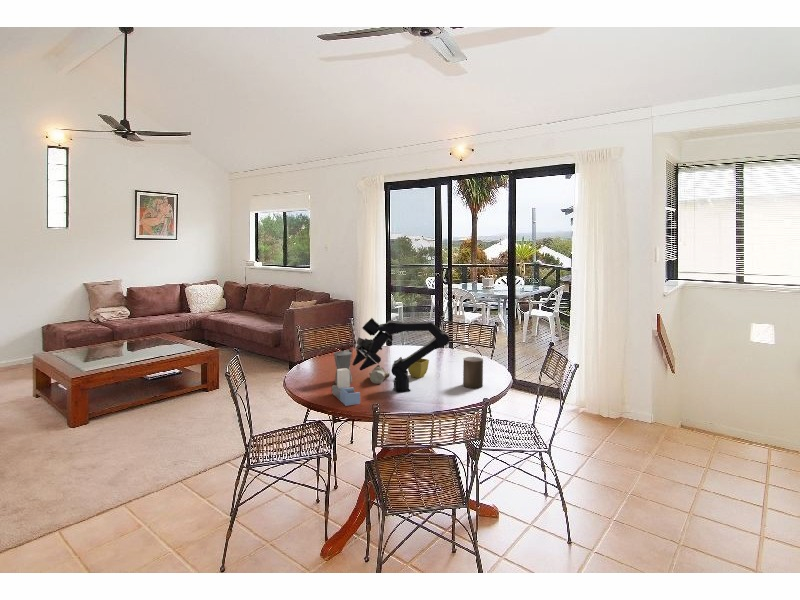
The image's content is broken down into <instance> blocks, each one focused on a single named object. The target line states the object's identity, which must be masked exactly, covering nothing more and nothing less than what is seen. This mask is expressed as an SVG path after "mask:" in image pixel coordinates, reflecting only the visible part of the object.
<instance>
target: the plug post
mask: <svg viewBox="0 0 800 600" xmlns="http://www.w3.org/2000/svg"><path fill="white" fill-rule="evenodd" d="M336 370H337V384H336V385H337V388H338V389H339V390H340V388H343V389H344V388H351V383H350V371H351V369H350V370H348V369H347V368H342V369H337V368H336Z"/></svg>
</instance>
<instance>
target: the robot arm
mask: <svg viewBox="0 0 800 600" xmlns="http://www.w3.org/2000/svg"><path fill="white" fill-rule="evenodd" d="M361 329H362V330H363V331H365V332H366V333H367V334H368V335H369V336H373V338H370V339H368V338H361V337H358V338H357V340H356V344H357V346H356V347H355V352H356V355H355V357H354V360H353V362H352V366H356V365H358V364H359V363H360V362H362V361H363V360H364V361H363V362H362V363H361V365H360V366H359V370H360V371H364V370H365V369H367V368H370V367H372V366H375V365H377V364H378V365H380V362H381V361H382V358H381V357H380V356H379V355H378V354H377V353H378V352H379V351H383V346H384V345H385V344H386V343H387V341H388V340H389V341H390V342H392V341H394V338H393V335H395V334H400V333H404V332H424V331H425V332H426V331H427V332H429V333H430V334H431V335H432V336H433V338H432V339H431V341H429V342H428V343H427V344H425V345H423V346H422V347H420V348H419V349H418V350H416V351H415V352H413V353H412V354H410V355H409V356H406V357H405V358H402V356H400V357H398V358H397V360H396V359H395V360H394V361H393V364H392V365H391V374H392V375H393V376H394V380H393V388H392V390H394V391H395V392H397V393H406V392H411V389H410V377H409V375H408V374H409V371H408V368H409V367H410V366H411V365H412V364H414V363H415V362H417V361H418V360H420V359H421V358H422V359H424V357H427V355H428V354H430V353H432V352H433V351H434V350H438V349H441V348H443V347H445V346H448V345H449V343H450V336H449V334H448V333H447V332H446V331H443V330H442V329H440V327H438V326H437V325H436V324H434V322H432V321H424V322H423V321H421V322H402V321H398V320H394V319H393V320H392V319H391V320H388V321H387V322H385V323H382V324H381V323H380V324H379V323H378V322H377V321H375V319H374V318H373V317H371V318H370V319H369V320H368V321H367V322H366V323H365V324H364V325H363V326H362V327H361Z"/></svg>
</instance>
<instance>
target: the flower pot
mask: <svg viewBox="0 0 800 600" xmlns="http://www.w3.org/2000/svg"><path fill="white" fill-rule="evenodd" d="M429 363H430V359H428V358H427V359H426V358H421V359H420V360H418V361H417V362H415V363H414V364H412V365H411V366H410V367H409V368H408V369H407V371H408V374H409V375H410V376H411V377H412V378H417V379H421V378H423V377H424V376H425V375H426V374H427V371H428V369H429Z"/></svg>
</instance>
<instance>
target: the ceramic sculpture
mask: <svg viewBox="0 0 800 600" xmlns="http://www.w3.org/2000/svg"><path fill="white" fill-rule="evenodd" d="M368 374H369V379H370V382H371V383H373V384H375V385H378V384H382V383H383V382H384V380H385V379H388V378H389V377H390V372H389V373H388V372H386V370H385V368H384V367H383V366H381V365H380V364H378V365H377V364H376V366H375V367H374V368H373V370H371V372H369V373H368Z"/></svg>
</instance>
